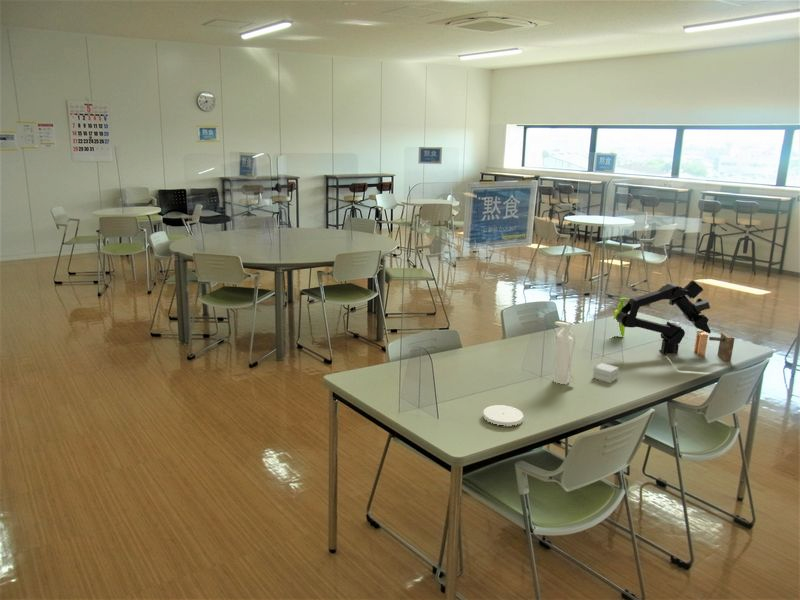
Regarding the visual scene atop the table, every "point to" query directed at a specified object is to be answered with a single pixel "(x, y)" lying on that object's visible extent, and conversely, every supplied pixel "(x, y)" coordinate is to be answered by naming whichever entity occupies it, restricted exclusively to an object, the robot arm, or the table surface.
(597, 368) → the small box
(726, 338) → the walnut stand
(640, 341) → the table surface
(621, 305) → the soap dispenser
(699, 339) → the C-link
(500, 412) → the plastic lid
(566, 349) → the spray bottle
